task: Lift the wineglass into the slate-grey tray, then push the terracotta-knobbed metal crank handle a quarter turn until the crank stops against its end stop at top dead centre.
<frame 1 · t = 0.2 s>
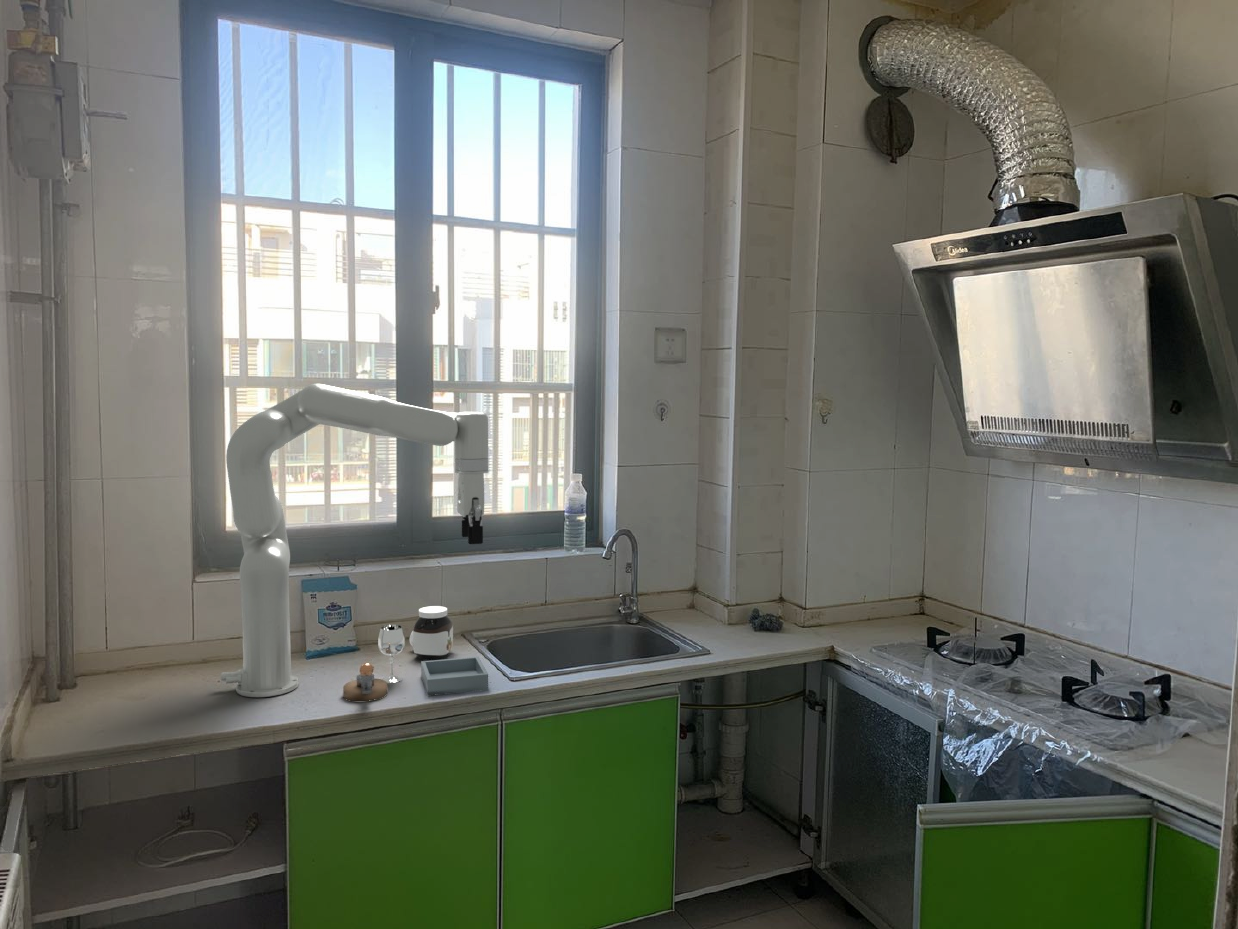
hand: (472, 540, 200), 31 cm above the worktop, tool pointing down, fingers open, 9 cm apart
tray: (454, 683, 194), on the worktop
spread jar: (428, 655, 215), on the worktop
crank: (365, 673, 182), point 6 cm above the worktop, hinge at 0.0°
wineglass: (391, 680, 195), on the worktop
crank base: (365, 694, 186), on the worktop
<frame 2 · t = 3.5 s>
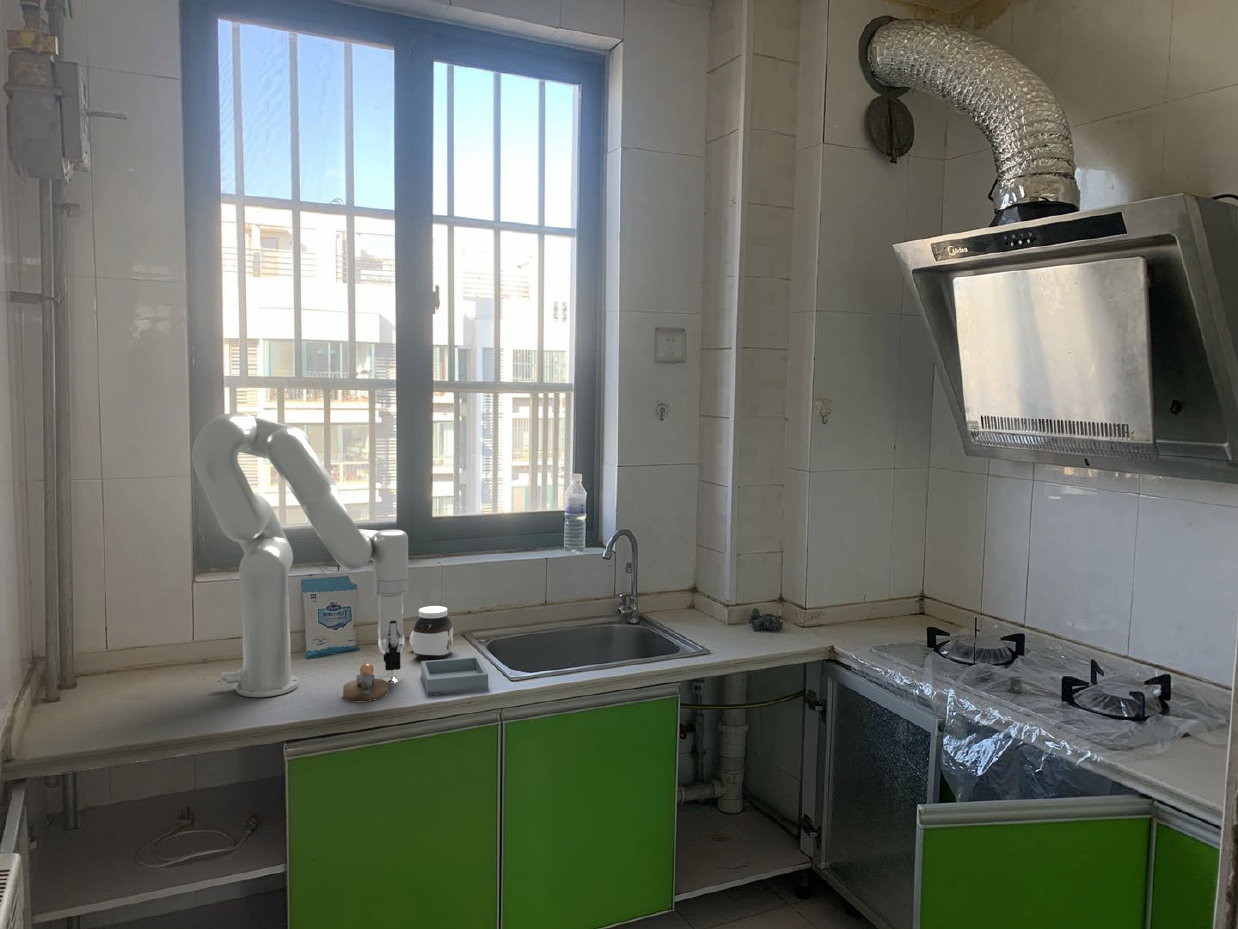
hand: (391, 664, 195), 3 cm above the worktop, tool pointing down, fingers closed on wineglass, 5 cm apart
wineglass: (392, 680, 195), on the worktop, touching gripper
everything else where it was.
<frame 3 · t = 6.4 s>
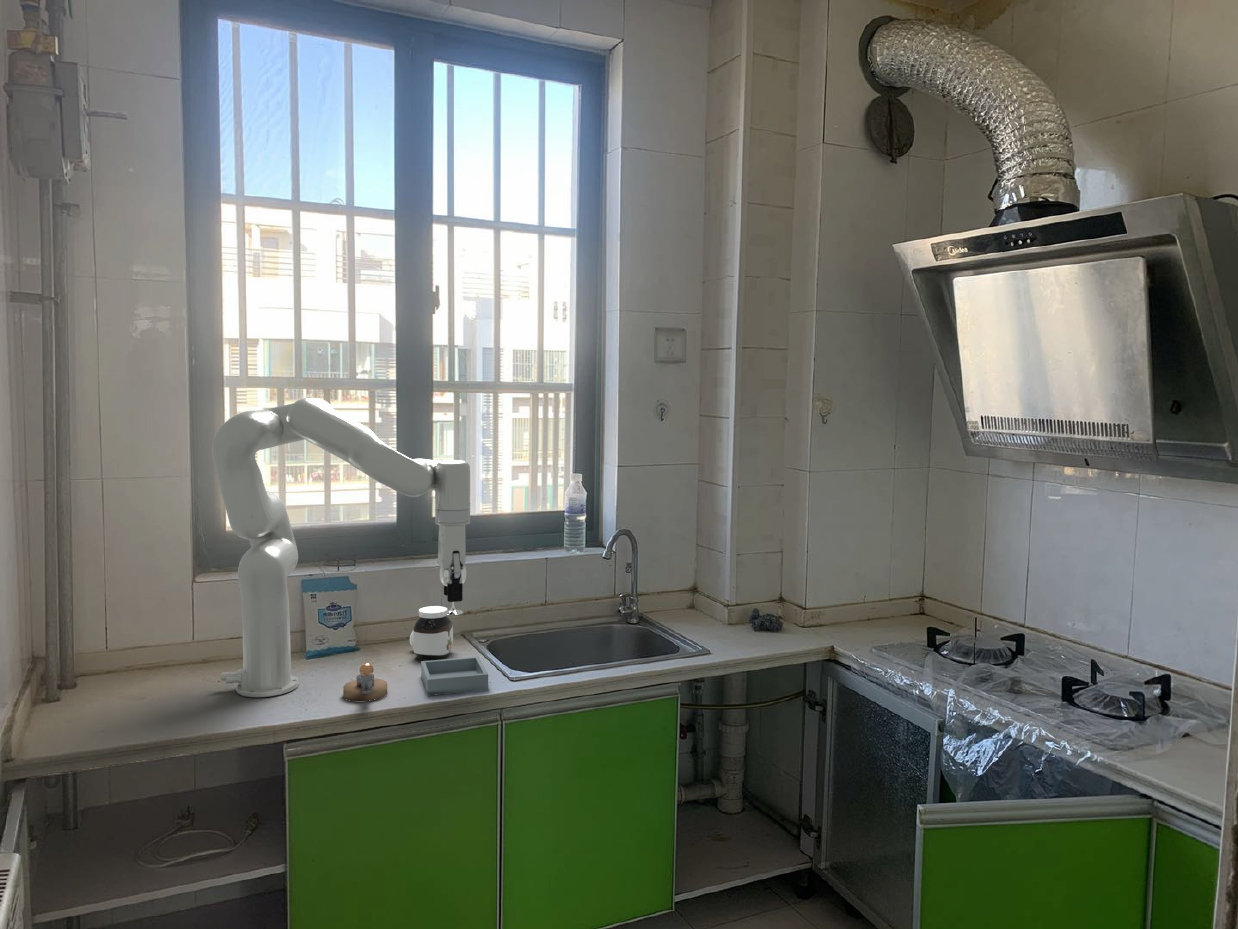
hand: (453, 597, 192), 19 cm above the worktop, tool pointing down, fingers closed on wineglass, 5 cm apart
wineglass: (453, 613, 193), point 16 cm above the worktop, touching gripper
everything else where it was.
when the fingers open (5 cm above the worktop, at t = 9.5 s): wineglass stays where it is, resting on tray.
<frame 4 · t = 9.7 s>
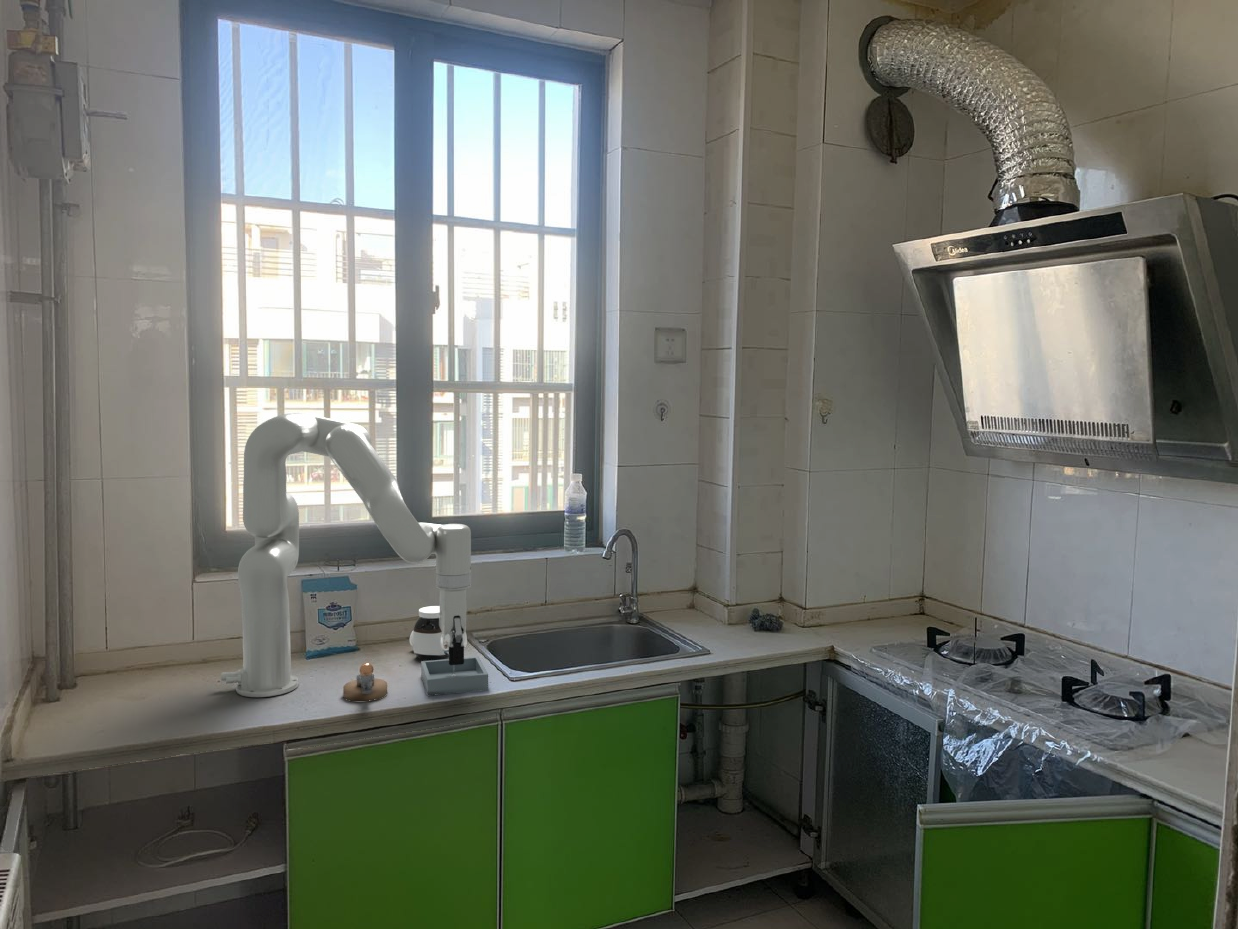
hand: (453, 658, 193), 6 cm above the worktop, tool pointing down, fingers open, 7 cm apart
wineglass: (453, 680, 194), point 1 cm above the worktop, touching tray
everything else where it was.
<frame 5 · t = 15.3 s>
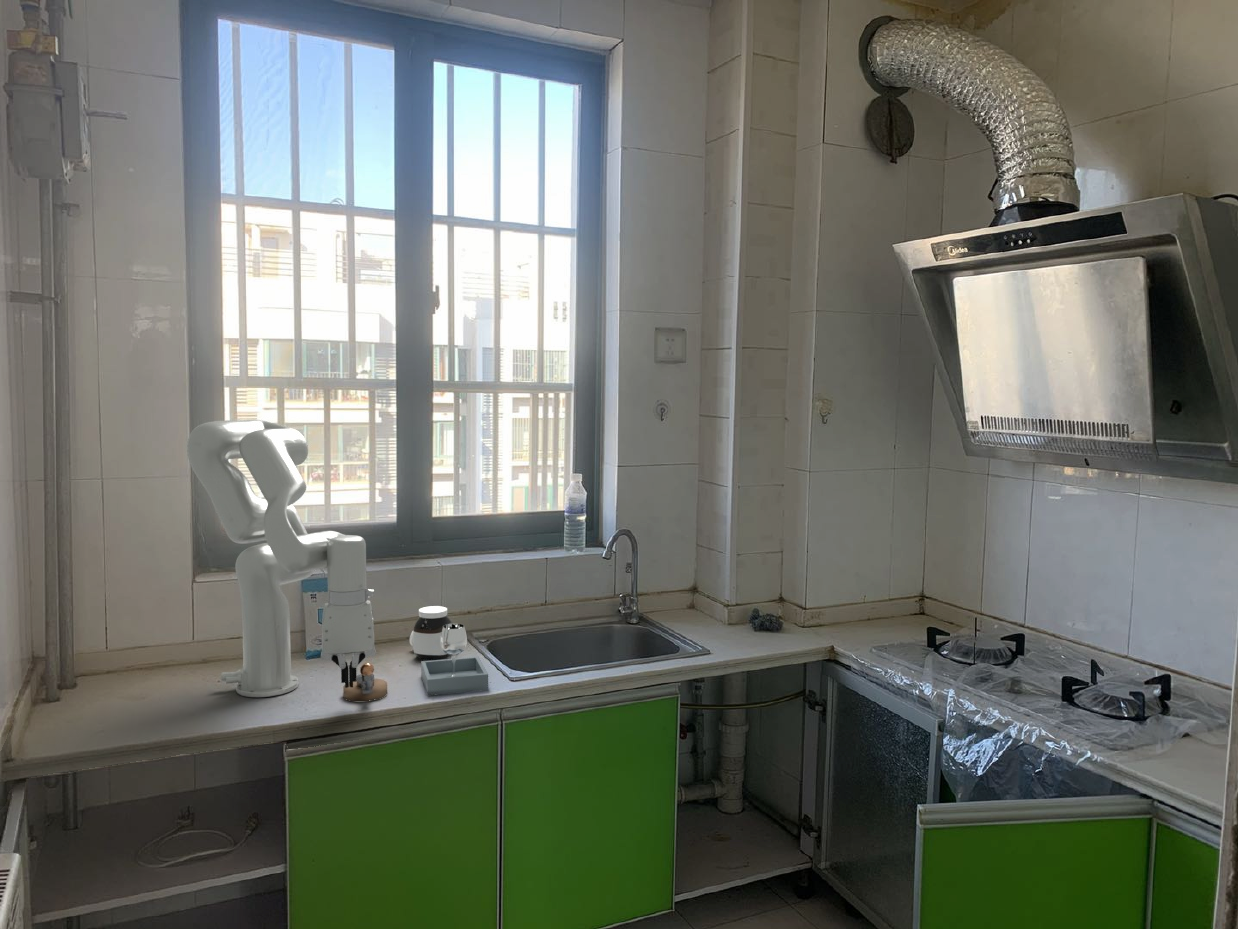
hand: (349, 685, 178), 5 cm above the worktop, tool pointing down, fingers closed
crank: (366, 673, 182), point 6 cm above the worktop, hinge at 0.8°, touching gripper
everything else where it was.
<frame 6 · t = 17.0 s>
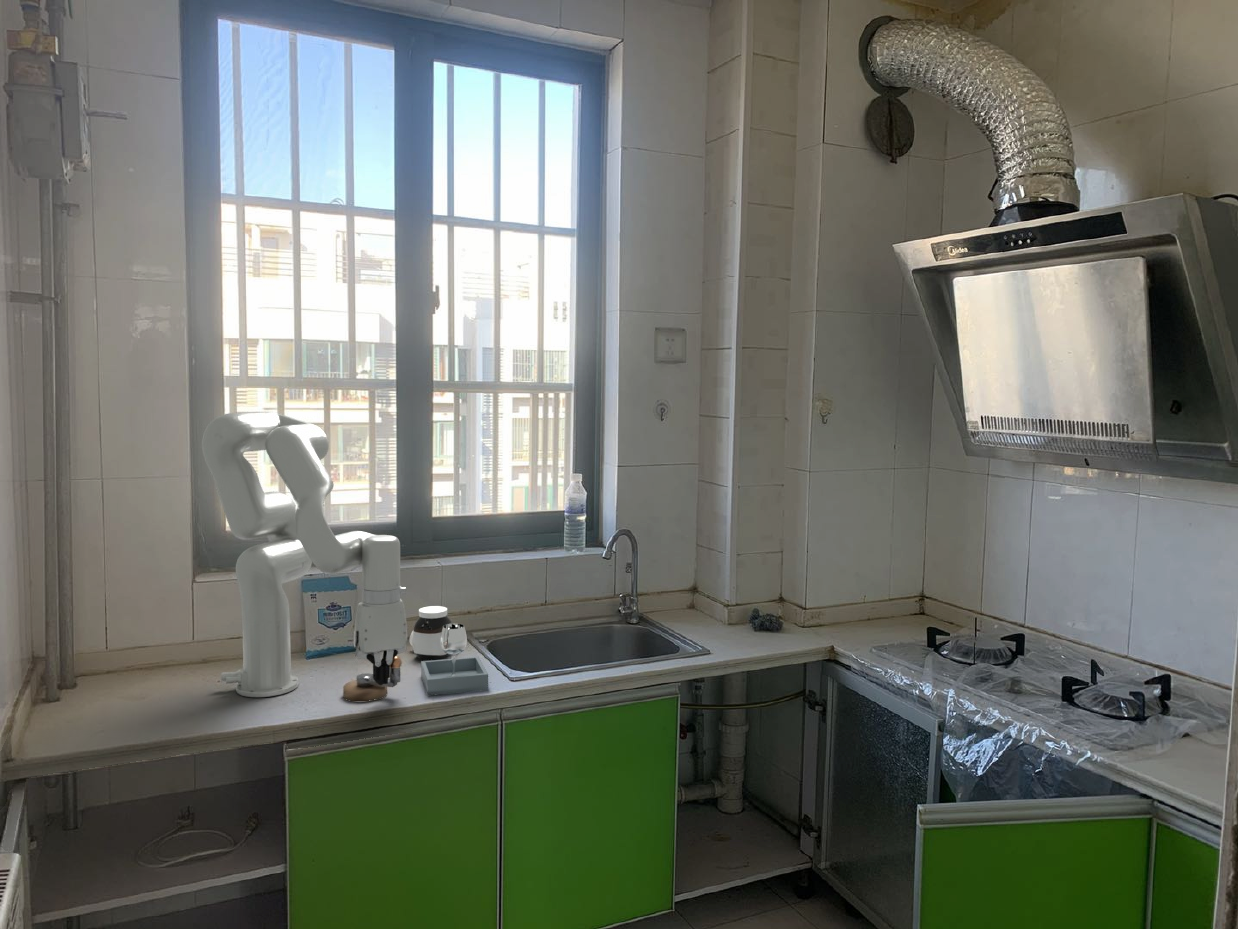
hand: (381, 682, 181), 4 cm above the worktop, tool pointing down, fingers closed
crank: (379, 670, 185), point 6 cm above the worktop, hinge at 56.8°, touching gripper
everything else where it was.
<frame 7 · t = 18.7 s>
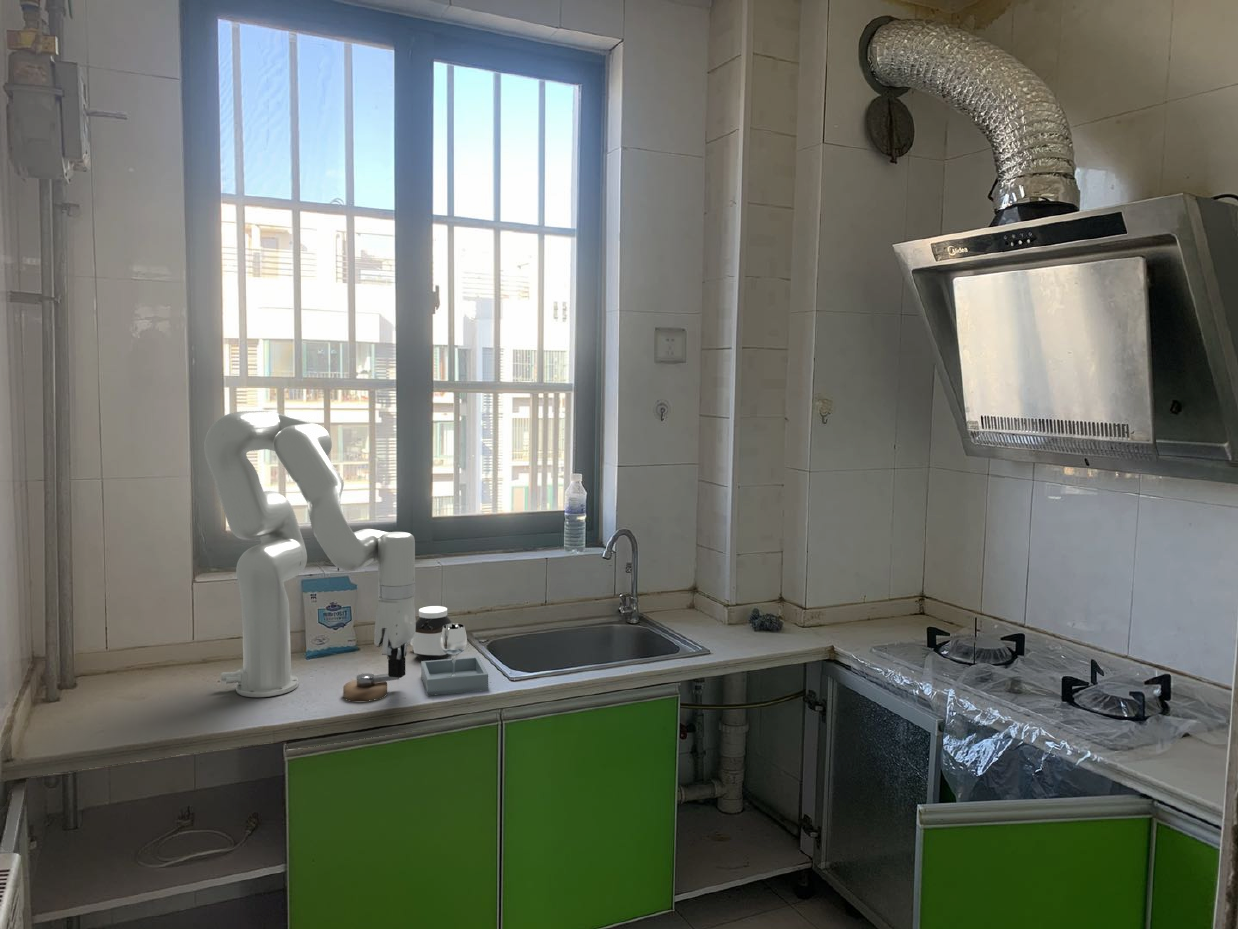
hand: (396, 676, 185), 4 cm above the worktop, tool pointing down, fingers closed
crank: (381, 666, 187), point 6 cm above the worktop, hinge at 98.7°, touching gripper
everything else where it was.
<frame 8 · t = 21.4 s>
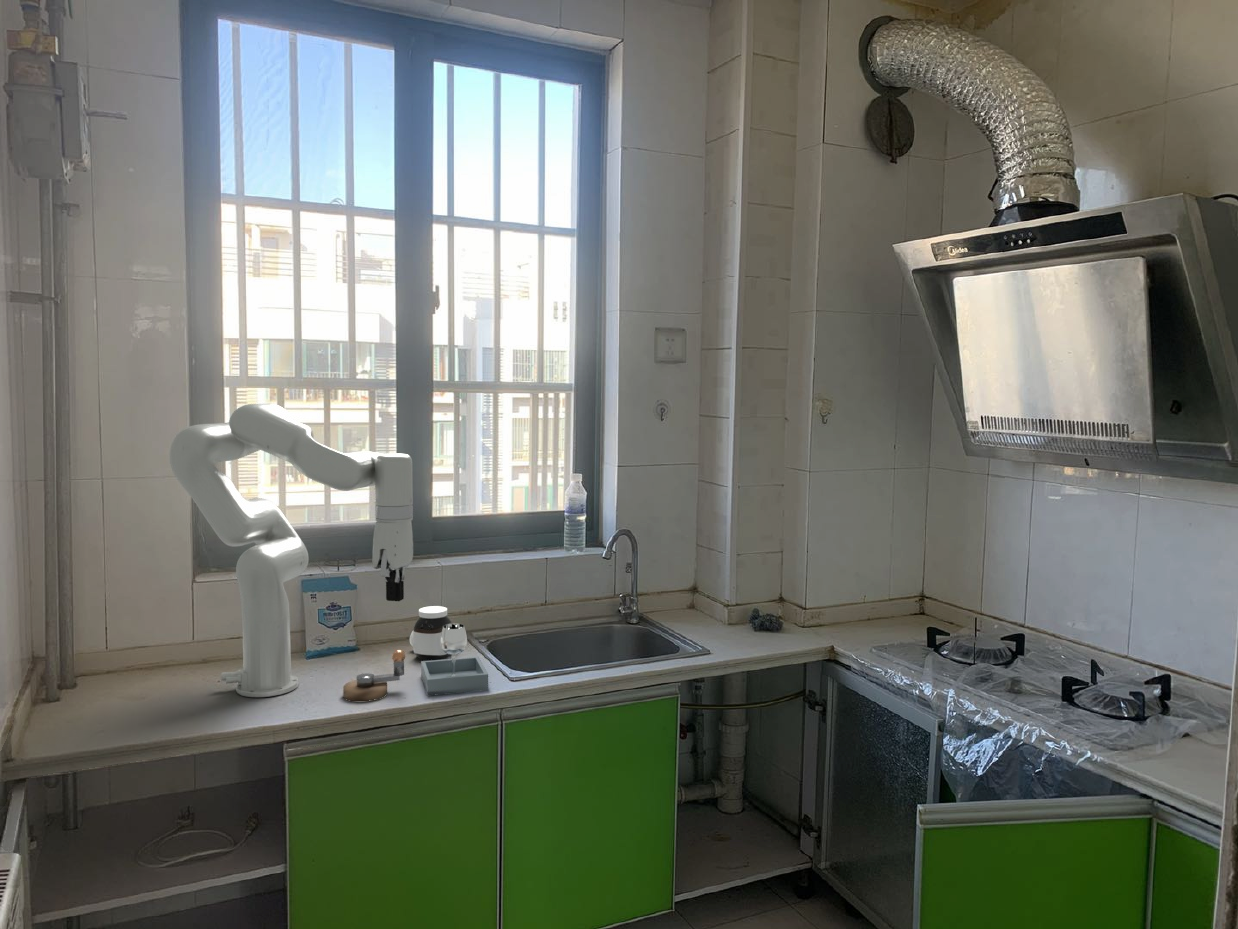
hand: (395, 599, 182), 21 cm above the worktop, tool pointing down, fingers closed
crank: (381, 667, 187), point 6 cm above the worktop, hinge at 94.0°
everything else where it was.
at the end: wineglass inside the target area on the tray (0.3 cm from its centre), point 0.6 cm above the tray's base; wineglass tilted 0°; crank at +94° (first picture: +0°) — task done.
